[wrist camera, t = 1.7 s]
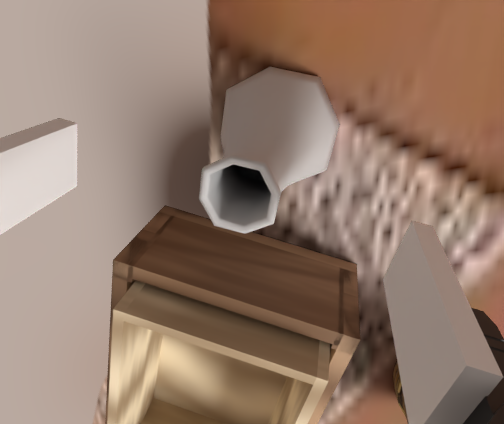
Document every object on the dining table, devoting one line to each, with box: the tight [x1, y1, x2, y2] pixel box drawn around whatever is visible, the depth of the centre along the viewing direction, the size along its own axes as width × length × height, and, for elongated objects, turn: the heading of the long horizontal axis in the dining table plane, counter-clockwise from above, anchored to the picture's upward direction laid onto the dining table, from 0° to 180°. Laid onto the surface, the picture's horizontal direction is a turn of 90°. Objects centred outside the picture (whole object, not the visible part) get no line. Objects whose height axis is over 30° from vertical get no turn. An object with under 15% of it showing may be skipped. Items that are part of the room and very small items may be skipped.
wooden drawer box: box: [105, 206, 360, 424], centre depth 29 cm, size 21×14×7 cm, turn 167°
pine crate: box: [107, 280, 330, 424], centre depth 27 cm, size 18×12×8 cm, turn 167°
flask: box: [199, 67, 340, 234], centre depth 19 cm, size 7×7×10 cm
